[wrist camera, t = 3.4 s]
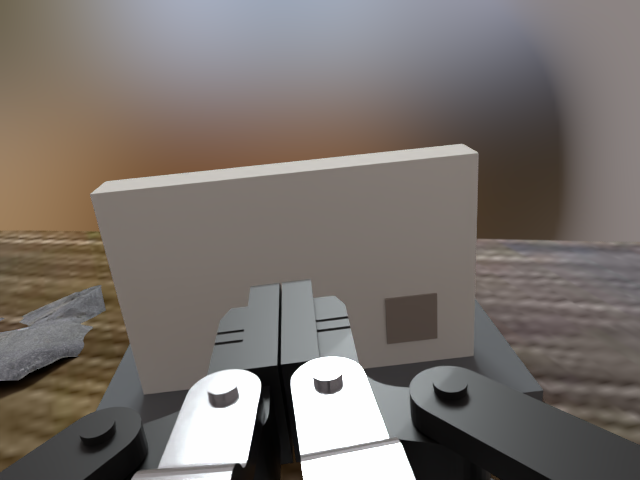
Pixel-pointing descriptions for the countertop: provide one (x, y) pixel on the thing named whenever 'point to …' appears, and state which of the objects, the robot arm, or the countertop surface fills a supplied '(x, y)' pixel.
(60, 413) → the countertop surface
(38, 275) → the countertop surface
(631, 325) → the countertop surface
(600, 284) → the countertop surface
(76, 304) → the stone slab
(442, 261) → the flat white box
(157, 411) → the rubber mat
